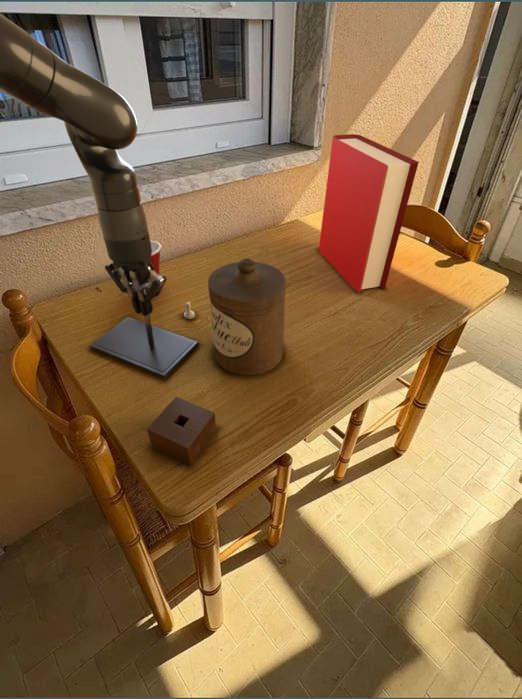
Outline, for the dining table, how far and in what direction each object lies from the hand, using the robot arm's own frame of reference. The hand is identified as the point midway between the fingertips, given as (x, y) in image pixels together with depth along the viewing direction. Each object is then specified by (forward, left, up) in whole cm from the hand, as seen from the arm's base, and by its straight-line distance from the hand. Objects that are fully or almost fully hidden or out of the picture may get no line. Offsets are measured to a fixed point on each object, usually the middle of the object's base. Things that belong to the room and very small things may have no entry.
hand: (144, 312), depth 76 cm
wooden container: (+9, -19, -10) cm, 23 cm away
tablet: (0, +2, -10) cm, 10 cm away
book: (+56, -27, -10) cm, 63 cm away
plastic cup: (+19, +17, -10) cm, 28 cm away
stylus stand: (-16, -20, -10) cm, 27 cm away
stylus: (0, 0, -9) cm, 9 cm away
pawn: (+14, 0, -10) cm, 17 cm away
